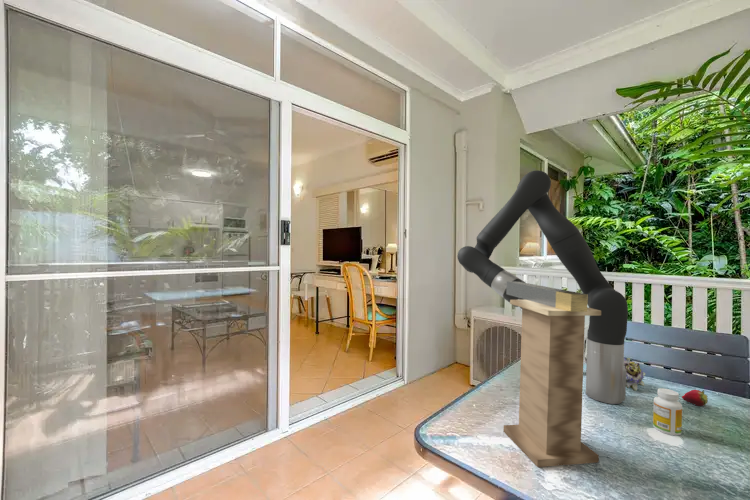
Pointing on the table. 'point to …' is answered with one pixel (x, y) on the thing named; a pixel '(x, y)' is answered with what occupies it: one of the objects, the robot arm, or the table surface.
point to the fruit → (696, 397)
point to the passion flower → (633, 374)
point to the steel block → (549, 296)
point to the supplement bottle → (667, 412)
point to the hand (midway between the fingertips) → (560, 323)
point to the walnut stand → (551, 386)
